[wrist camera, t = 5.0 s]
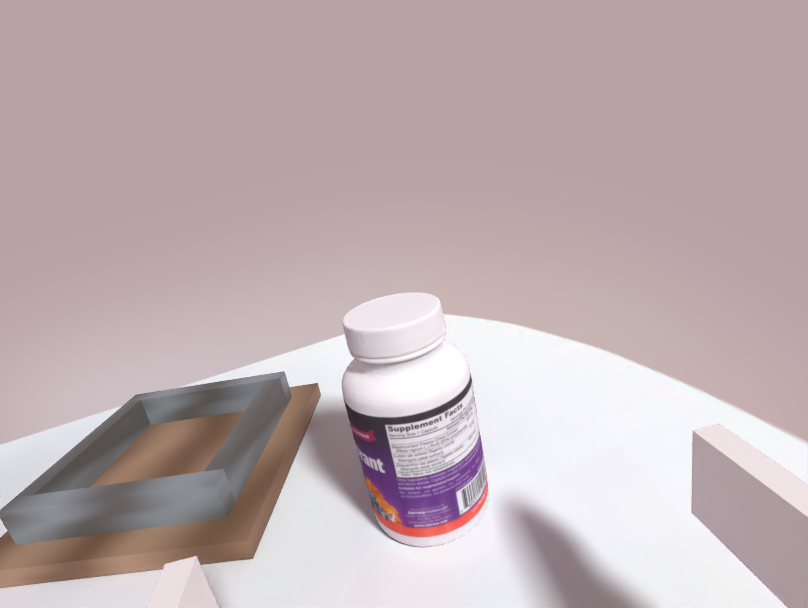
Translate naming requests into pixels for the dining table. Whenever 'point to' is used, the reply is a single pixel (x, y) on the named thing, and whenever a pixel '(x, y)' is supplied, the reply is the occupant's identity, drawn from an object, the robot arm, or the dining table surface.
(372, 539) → the dining table surface
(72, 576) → the trough board
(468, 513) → the pill bottle
